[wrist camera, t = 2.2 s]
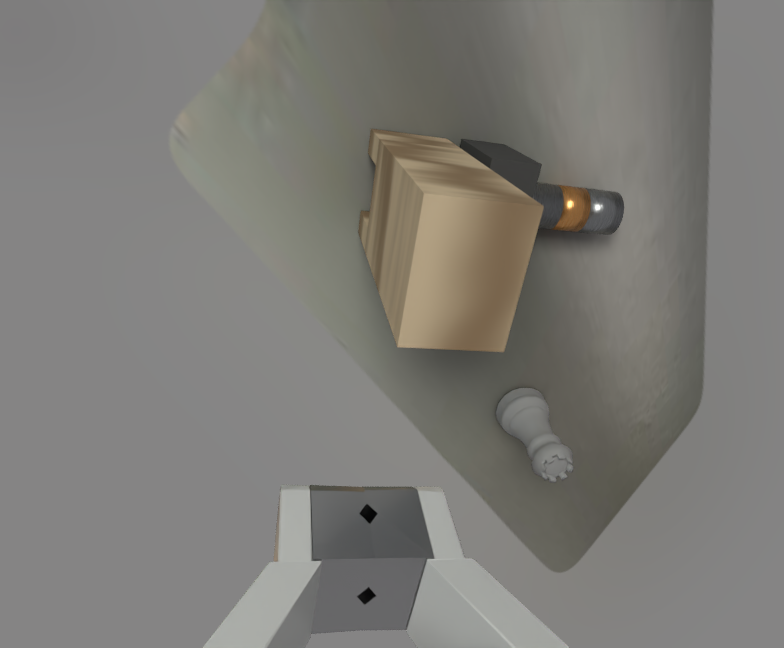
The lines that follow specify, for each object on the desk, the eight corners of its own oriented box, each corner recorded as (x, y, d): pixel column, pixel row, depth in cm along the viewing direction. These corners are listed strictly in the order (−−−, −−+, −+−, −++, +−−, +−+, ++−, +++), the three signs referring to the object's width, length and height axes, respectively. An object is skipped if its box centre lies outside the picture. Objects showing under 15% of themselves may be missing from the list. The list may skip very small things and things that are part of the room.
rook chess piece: (549, 412, 49) (592, 476, 42) (503, 433, 49) (538, 500, 42) (534, 376, 46) (577, 437, 40) (487, 398, 47) (521, 463, 40)
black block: (441, 240, 39) (466, 274, 34) (461, 138, 36) (492, 158, 30) (481, 244, 40) (511, 278, 34) (504, 144, 36) (541, 164, 31)
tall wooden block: (358, 231, 38) (397, 347, 24) (370, 128, 35) (424, 193, 21) (428, 238, 39) (504, 352, 25) (446, 138, 36) (544, 206, 22)
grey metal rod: (397, 207, 38) (405, 220, 35) (404, 162, 36) (412, 173, 34) (593, 227, 41) (614, 240, 38) (606, 187, 39) (629, 198, 37)
